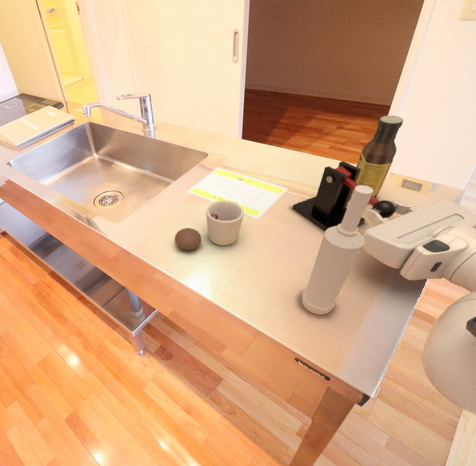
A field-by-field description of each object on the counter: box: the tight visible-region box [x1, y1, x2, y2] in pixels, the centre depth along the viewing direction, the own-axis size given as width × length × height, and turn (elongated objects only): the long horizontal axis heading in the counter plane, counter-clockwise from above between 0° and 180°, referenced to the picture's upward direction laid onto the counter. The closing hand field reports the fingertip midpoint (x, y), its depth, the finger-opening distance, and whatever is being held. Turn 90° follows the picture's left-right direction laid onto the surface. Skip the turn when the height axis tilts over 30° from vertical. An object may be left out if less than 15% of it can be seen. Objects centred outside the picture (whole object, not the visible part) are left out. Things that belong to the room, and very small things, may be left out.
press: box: [292, 160, 366, 232], centre depth 72 cm, size 12×9×13 cm
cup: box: [205, 200, 245, 246], centre depth 73 cm, size 11×8×8 cm
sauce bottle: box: [350, 115, 404, 199], centre depth 73 cm, size 6×6×20 cm
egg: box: [174, 227, 202, 251], centre depth 73 cm, size 6×6×4 cm
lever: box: [334, 166, 396, 219], centre depth 66 cm, size 14×4×4 cm, turn 21°
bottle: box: [301, 185, 373, 316], centre depth 50 cm, size 5×5×25 cm
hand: (377, 207), depth 63 cm, fingers closed on lever, 3 cm apart
